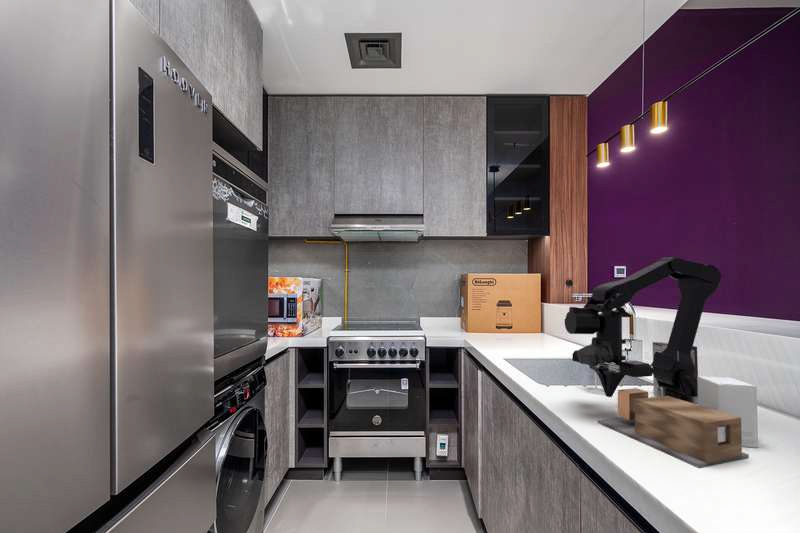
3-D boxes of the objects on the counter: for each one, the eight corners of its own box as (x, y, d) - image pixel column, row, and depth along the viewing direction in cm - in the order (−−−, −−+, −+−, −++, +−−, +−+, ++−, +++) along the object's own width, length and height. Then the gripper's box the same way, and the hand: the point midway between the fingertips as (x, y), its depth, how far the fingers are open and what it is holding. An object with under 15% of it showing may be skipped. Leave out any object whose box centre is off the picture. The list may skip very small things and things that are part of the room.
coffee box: (687, 397, 108) (686, 343, 109) (699, 404, 102) (698, 346, 103) (652, 394, 110) (652, 341, 111) (662, 401, 104) (661, 344, 105)
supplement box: (759, 448, 74) (758, 386, 75) (718, 444, 76) (717, 383, 76) (734, 434, 82) (733, 377, 82) (696, 430, 83) (696, 374, 84)
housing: (597, 422, 87) (597, 389, 87) (640, 417, 91) (640, 385, 91) (699, 468, 66) (698, 424, 66) (748, 457, 70) (747, 416, 71)
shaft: (617, 415, 86) (617, 389, 86) (636, 413, 88) (636, 388, 88) (710, 452, 68) (710, 419, 68) (731, 448, 70) (731, 416, 70)
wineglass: (583, 392, 111) (583, 353, 111) (584, 387, 117) (584, 349, 117) (608, 396, 108) (608, 355, 108) (608, 390, 114) (608, 352, 114)
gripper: (556, 330, 99) (556, 388, 98) (618, 341, 81) (618, 412, 80) (588, 329, 102) (588, 385, 102) (653, 340, 85) (654, 408, 84)
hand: (608, 396), depth 92 cm, fingers closed
